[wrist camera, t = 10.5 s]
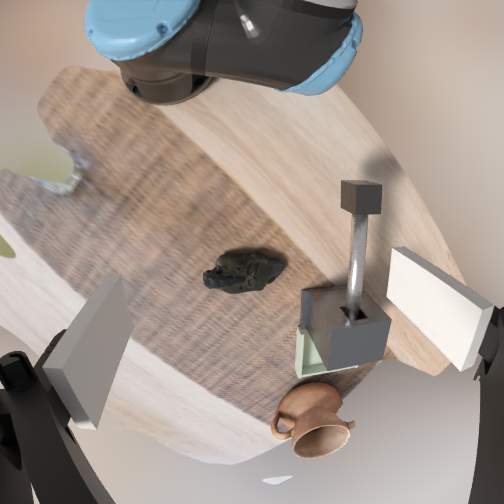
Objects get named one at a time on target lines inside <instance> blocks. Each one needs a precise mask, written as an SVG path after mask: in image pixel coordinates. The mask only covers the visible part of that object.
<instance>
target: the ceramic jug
mask: <svg viewBox="0 0 504 504" xmlns="http://www.w3.org/2000/svg"><path fill="white" fill-rule="evenodd" d="M342 404H343V402H342V400H341V398H340V394H339V393H338V391H337V390H336V389H335V388H334V387H332V386H331V385H329V384H326V383H320V382H314V383H308V384H304V385H301V386H299V387H296V388H294V389H293V390H291V391H290V392H288V393H287V394H286V395H285V396H284V397H283V399H282V400H281V402H280V404H279V406H278V409H277V411H276V416H275V418H274V419H273V421H272V424H271V431H272V434H273V435H274V436H275V437H276V438H278V439H288V438H290V437H292V449H293V452H294V454H295V455H297V456H299V457H301V458H308V459H311V458H319V457H323V456H326V455H329V454H331V453H333V452H335V451H337V450H339V449H340V448H341V447H343V446H344V445H345V444H346V443H347V441H348V438H349V437H350V431H349V430H350V429H352V428H354V427H355V421H352V422H344V421H342V420H341V419H339V418H338V417H337V416H336V415H335V414H336V413H337V411H338V409H339V408H340V407H341V405H342ZM279 419H280V420H281V421H282V422H283V423H284V424H285V425H287V426H289V427H291V428H292V429H291V430H289V431H287V432H284V433H281V432H279V431H278V429H277V424H278V421H279Z"/></svg>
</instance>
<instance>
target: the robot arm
mask: <svg viewBox="0 0 504 504" xmlns="http://www.w3.org/2000/svg"><path fill="white" fill-rule="evenodd" d="M357 2H358V1H357V0H90V1H89V4H88V6H87V9H86V12H85V18H84V26H85V31H86V34H87V37H88V38H89V40H90V42H91V43H92V44H93V45H94V46H95V48H96V50H97V52H98V53H99V54H100V55H102V56H104V57H105V58H108V59H110V60H111V61H112V62H114V63H115V64H116V65H117V66H118V67H120V70H121V75H122V79H123V81H124V83H125V85H126V86H127V88H128V89H129V90H130V91H131V92H132V93H133V94H134V95H135V96H137V97H138V98H140V99H141V100H143V101H145V102H148V103H151V104H155V105H174V104H179V103H182V102H185V101H187V100H189V99H191V98H193V97H195V96H196V95H198V94H199V93H200V92H201V91H203V90H204V89H205V88H206V87H207V85H208V84H209V83H210V82H211V80H212V79H213V77H218V78H224V79H230V80H236V81H241V82H247V83H252V84H257V85H262V86H266V87H271V88H274V89H275V90H277V91H280V92H293V93H298V94H302V95H307V96H310V95H319V94H322V93H324V92H326V91H328V90H329V89H331V88H332V87H333V86H334V85H335V84H336V83H337V82H338V81H339V80H340V79H341V78H342V76H343V75H344V74H345V73H346V71H347V70H348V68H349V67H350V65H351V63H352V61H353V59H354V58H355V56H356V53H357V51H356V47H357V45H358V44H359V43H360V42H361V38H362V32H363V28H362V21H361V19H360V17H359V16H358V15H357V14H356V13H355V11H354V9H355V7H356V5H357ZM386 297H387V298H388V299H389V300H390V301H392V302H393V303H394V304H395V305H396V306H397V307H398V308H399V309H400V310H401V311H402V312H403V313H404V314H405V315H406V316H407V317H408V318H409V319H410V320H411V321H412V322H413V323H414V324H415V325H416V326H417V327H418V328H419V329H420V330H421V331H422V332H423V333H424V334H425V335H426V336H427V337H428V338H429V339H430V340H431V341H432V342H433V343H434V344H435V345H436V346H437V347H438V348H439V349H440V350H441V351H442V352H443V353H444V355H445V356H446V357H447V358H448V359H449V360H450V361H451V362H452V363H453V364H454V365H455V366H456V367H457V368H458V369H459V370H460V371H463V370H465V369H467V368H469V367H471V366H473V364H474V362H475V360H476V357H477V355H478V353H479V354H480V355H481V356H482V357H483V358H482V360H481V363H480V365H479V368H478V370H477V372H476V374H475V376H474V380H476V379H477V376H479V375H480V379H479V381H480V388H481V389H480V424H479V438H478V448H477V457H476V464H475V471H474V477H473V483H472V488H471V493H470V498H469V502H468V504H504V307H502V308H501V309H499V308H497V307H496V306H494V305H493V304H492V303H490V302H489V301H487V300H486V299H485V298H483V297H482V296H480V295H479V294H477V293H476V292H474V291H473V290H472V289H470V288H469V287H467V286H466V285H464V284H463V283H461V282H460V281H458V280H457V279H455V278H454V277H452V276H451V275H449V274H447V273H446V272H444V271H443V270H441V269H440V268H438V267H437V266H435V265H433V264H432V263H430V262H429V261H427V260H425V259H424V258H422V257H421V256H419V255H417V254H416V253H414V252H412V251H411V250H409V249H407V248H406V247H396V248H392V255H391V264H390V273H389V281H388V289H387V296H386ZM133 327H134V325H133V321H132V318H131V314H130V311H129V307H128V303H127V299H126V296H125V292H124V288H123V283H122V279H121V275H118V276H107V277H105V279H104V280H103V281H102V282H101V284H100V285H99V286H98V288H97V289H96V290H95V292H94V293H93V294H92V296H91V297H90V298H89V300H88V301H87V302H86V304H85V305H84V306H83V308H82V309H81V311H80V312H79V313H78V315H77V316H76V317H75V319H74V320H73V322H72V323H71V325H70V326H69V327H68V329H64V330H62V331H61V332H60V333H58V334H57V335H56V336H55V337H54V338H53V340H52V341H51V342H50V344H49V346H48V347H47V348H46V350H45V353H43V354H42V356H41V357H40V358H39V360H38V362H37V363H36V365H35V366H34V368H33V367H32V365H31V363H30V361H29V359H28V357H27V355H26V354H25V353H24V352H22V351H14V352H10V353H8V354H6V355H4V356H2V357H1V358H0V381H1V383H2V385H3V386H4V388H5V389H0V504H34V501H33V494H32V488H31V484H32V486H33V488H34V491H35V494H36V496H37V498H38V501H39V503H40V504H116V503H115V502H114V501H113V499H112V498H111V496H110V495H109V493H108V492H107V490H106V489H105V488H104V486H103V485H102V483H101V481H100V480H99V479H98V477H97V475H96V474H95V472H94V470H93V469H92V467H91V465H90V464H89V462H88V460H87V459H86V457H85V455H84V453H83V452H82V450H81V448H80V446H79V444H78V442H77V441H76V439H75V437H74V435H73V433H72V431H71V430H70V428H69V426H68V422H69V420H70V417H71V418H72V419H73V421H74V422H75V424H76V425H77V427H78V428H84V429H92V430H97V427H98V424H99V421H100V418H101V415H102V412H103V409H104V406H105V403H106V400H107V397H108V394H109V391H110V388H111V385H112V382H113V380H114V377H115V374H116V371H117V369H118V366H119V363H120V360H121V358H122V355H123V353H124V350H125V347H126V345H127V342H128V340H129V337H130V335H131V332H132V330H133Z"/></svg>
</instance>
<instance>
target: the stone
mask: <svg viewBox="0 0 504 504" xmlns="http://www.w3.org/2000/svg"><path fill="white" fill-rule="evenodd" d="M283 268H284V265H283V263H282V262H281V261H280V260H278V259H273V258H265V257H264V256H263V255H258V254H254V253H251V254H250V255H248V256H245V255H239V254H227V255H221V256H220V257H219V259H218V260H217V264H216V267H215V268H214V269H213V270H207V271H206V272H204V273H203V281H204V285H205V286H206V287H207V288H209V289H212V288H216V289H220V290H222V291H224V292H226V293H230V294H237V293H242V292H248V291H260V290H263V289H264V287H265V286H266V284H270V283H272V282H273V281H274V280H275V279H276V278H277V277H278V276H279V275H280V274H281V272H282V270H283Z"/></svg>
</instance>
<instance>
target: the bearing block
mask: <svg viewBox="0 0 504 504" xmlns="http://www.w3.org/2000/svg"><path fill="white" fill-rule="evenodd" d="M363 287H364V285H362V293H361V301H360V309H359V316H358V320H355V321H349V319H348V318H347V317H346V315H345V314H344V310H345V301H346V291H347V285H340V286H331V287H323V288H314V289H304V290H302V291H301V318H300V326H301V329H302V330H304V329H307V331H308V333H309V335H310V337H311V339H312V341H313V343H314V345H315V348H316V350H317V352H318V354H319V356H320V358H321V360H322V362H323V364H324V366H325V368H326V370H327V371H332V370H337V369H342V368H347V367H352V366H356V365H361V364H365V363H370V362H374V361H378V360H382V359H383V355H384V351H385V347H386V343H387V338H388V334H389V329H390V325H391V320H392V319H391V318H390V317H389V316H388V315H387V314H386V313H385V312H384V311H383V310H382V309H381V308H380V307H379V306H378V305H377V304H376V302H375V301H374V300H373V299H372V298H371V297H370V296H369V295H368V294H367V293H366V292H365V291H364V290H363Z"/></svg>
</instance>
